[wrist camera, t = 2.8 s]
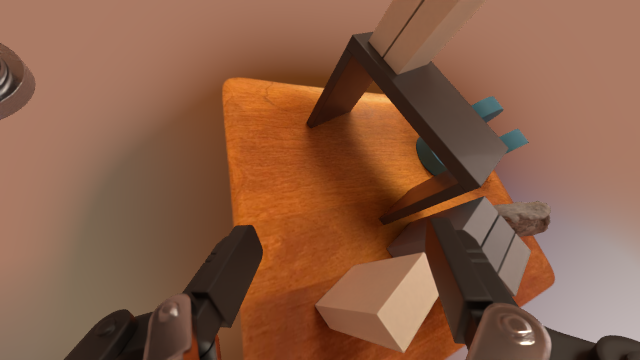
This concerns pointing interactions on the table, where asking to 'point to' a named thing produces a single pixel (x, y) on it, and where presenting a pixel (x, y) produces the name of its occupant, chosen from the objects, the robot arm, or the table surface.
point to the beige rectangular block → (382, 300)
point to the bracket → (487, 112)
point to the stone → (525, 217)
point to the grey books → (485, 228)
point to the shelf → (417, 122)
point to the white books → (419, 30)
